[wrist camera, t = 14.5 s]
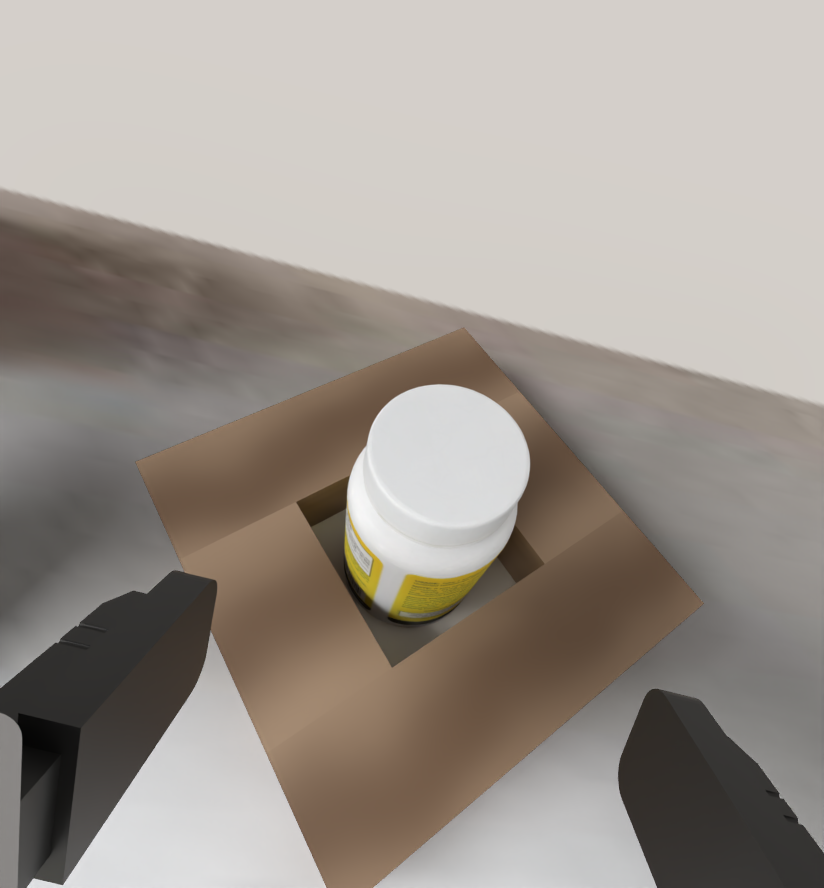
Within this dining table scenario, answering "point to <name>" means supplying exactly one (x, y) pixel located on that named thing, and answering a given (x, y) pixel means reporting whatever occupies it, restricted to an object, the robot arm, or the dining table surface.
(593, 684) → the walnut pocket block
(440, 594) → the supplement bottle
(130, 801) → the dining table surface
